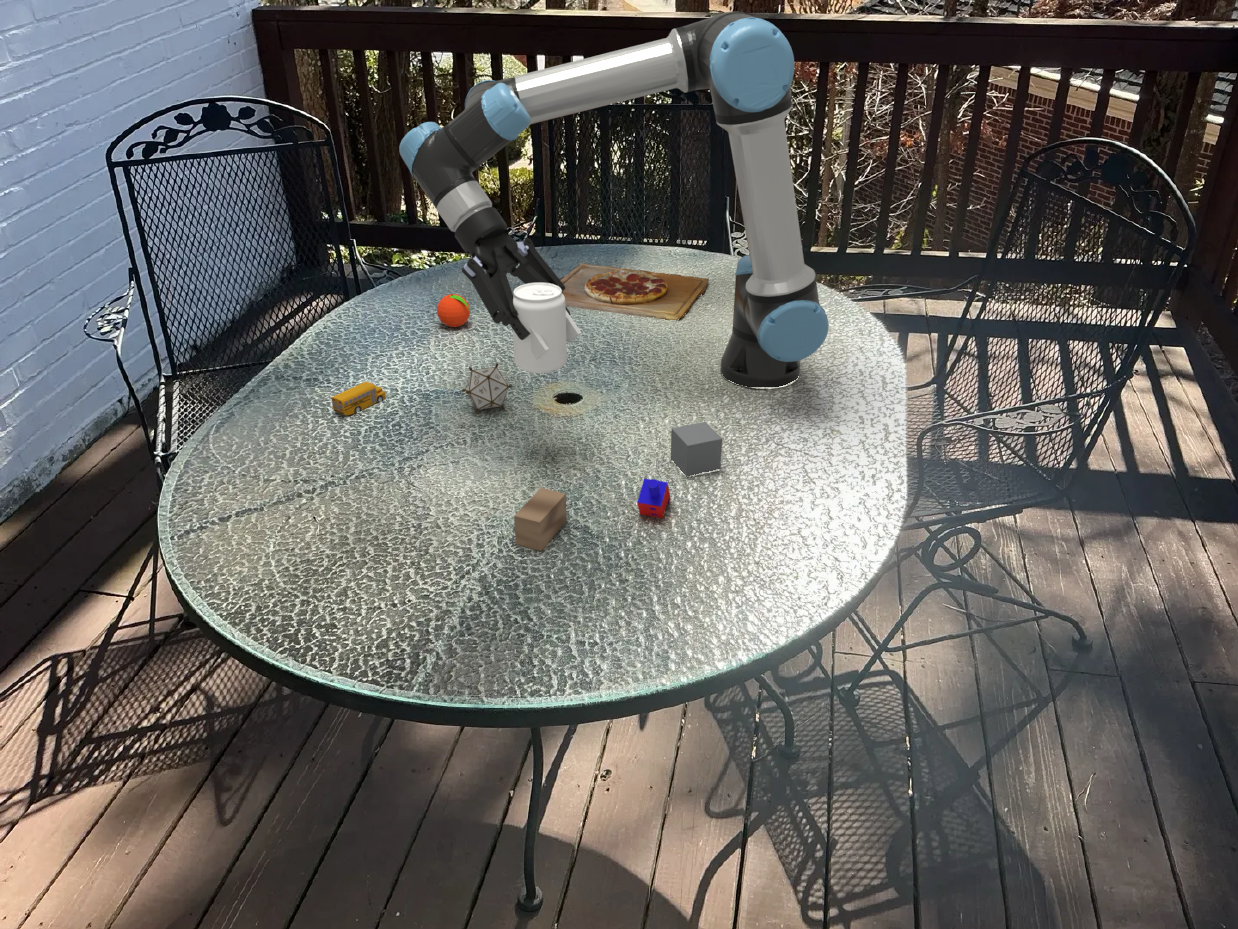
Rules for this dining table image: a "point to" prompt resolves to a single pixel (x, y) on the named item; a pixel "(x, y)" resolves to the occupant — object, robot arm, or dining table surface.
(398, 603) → the dining table surface
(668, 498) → the toy building block
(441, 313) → the clementine
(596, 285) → the pizza
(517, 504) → the dining table surface
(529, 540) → the walnut brick
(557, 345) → the beverage can
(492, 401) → the game die
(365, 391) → the toy bus
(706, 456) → the grey cube
